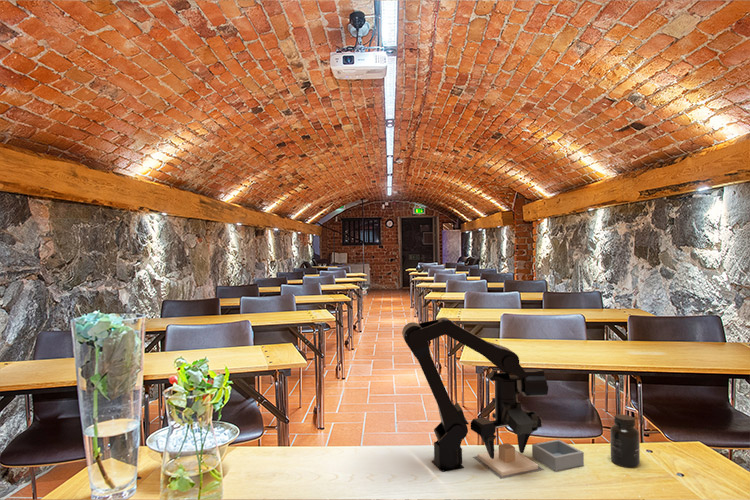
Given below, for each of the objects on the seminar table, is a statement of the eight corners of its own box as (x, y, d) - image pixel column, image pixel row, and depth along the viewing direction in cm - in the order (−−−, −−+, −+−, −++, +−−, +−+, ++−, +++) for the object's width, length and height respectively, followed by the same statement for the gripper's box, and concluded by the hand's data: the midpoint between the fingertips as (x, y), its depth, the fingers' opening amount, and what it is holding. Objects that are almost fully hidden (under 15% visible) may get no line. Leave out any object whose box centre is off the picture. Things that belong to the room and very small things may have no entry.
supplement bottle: (643, 469, 119) (643, 422, 119) (615, 467, 120) (614, 421, 120) (634, 457, 126) (633, 413, 126) (607, 455, 127) (606, 412, 127)
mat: (500, 480, 114) (500, 478, 114) (472, 458, 126) (472, 456, 126) (543, 471, 118) (543, 469, 118) (512, 451, 131) (512, 449, 131)
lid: (501, 476, 115) (501, 457, 115) (477, 457, 126) (477, 441, 126) (538, 468, 119) (537, 451, 119) (511, 451, 129) (511, 435, 129)
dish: (555, 473, 117) (555, 457, 117) (532, 459, 126) (532, 444, 126) (583, 467, 120) (583, 452, 120) (559, 453, 129) (558, 439, 129)
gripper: (493, 410, 112) (494, 475, 112) (556, 401, 118) (556, 462, 118) (469, 397, 122) (469, 456, 122) (527, 389, 129) (528, 445, 128)
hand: (506, 455), depth 122 cm, fingers open, 9 cm apart
